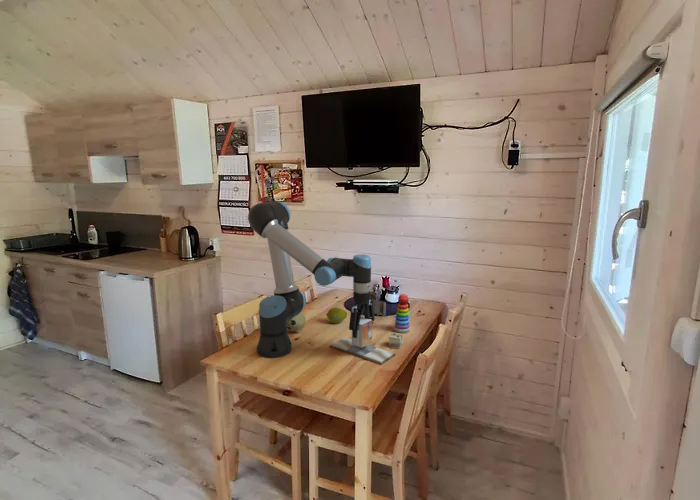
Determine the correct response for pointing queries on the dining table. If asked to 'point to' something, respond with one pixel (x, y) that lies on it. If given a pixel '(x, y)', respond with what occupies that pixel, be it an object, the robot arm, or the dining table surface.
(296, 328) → the toy pig
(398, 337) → the die
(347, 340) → the game board
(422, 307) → the dining table surface
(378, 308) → the grey slab
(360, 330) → the small box
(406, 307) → the stacking toy
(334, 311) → the green fruit
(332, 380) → the dining table surface
